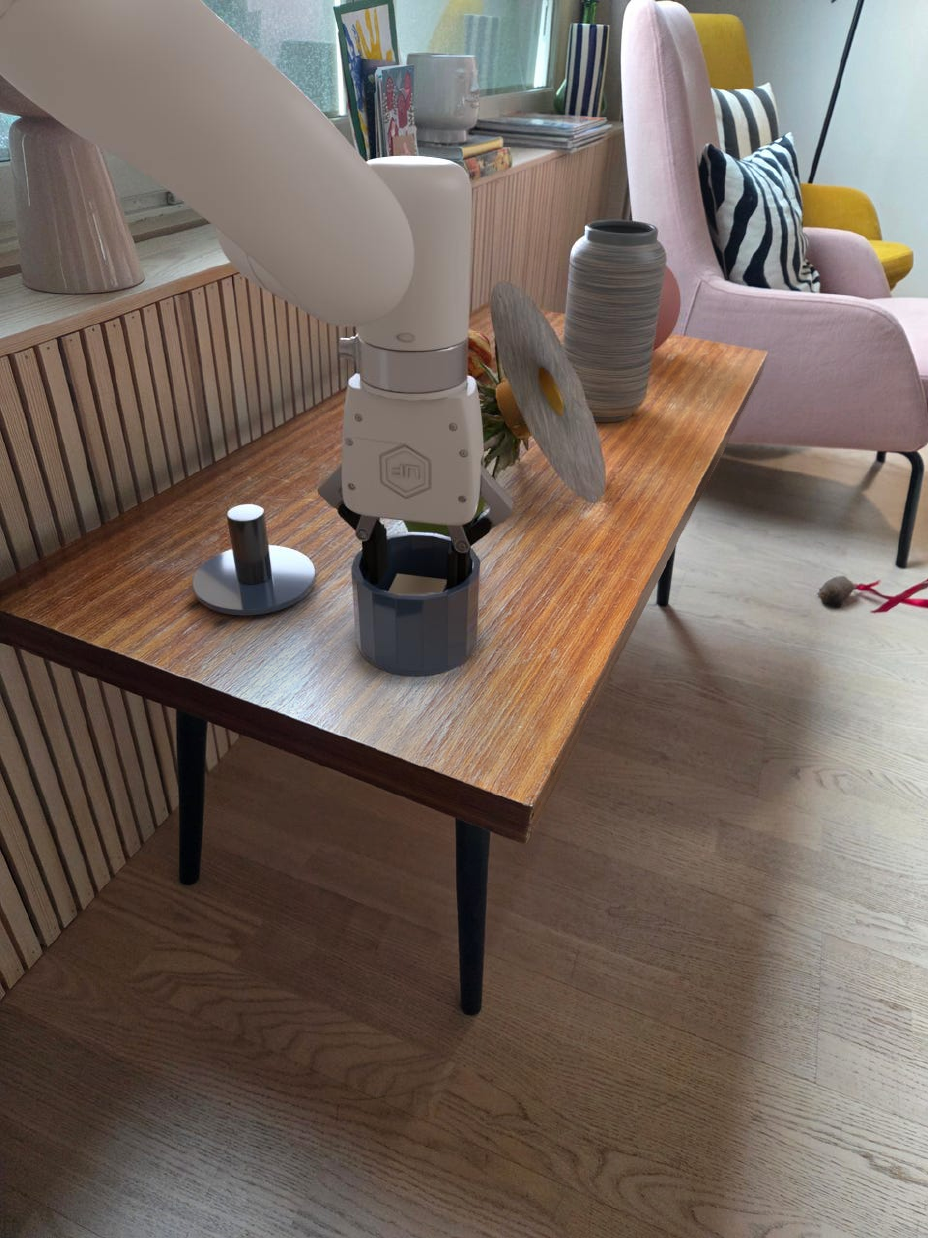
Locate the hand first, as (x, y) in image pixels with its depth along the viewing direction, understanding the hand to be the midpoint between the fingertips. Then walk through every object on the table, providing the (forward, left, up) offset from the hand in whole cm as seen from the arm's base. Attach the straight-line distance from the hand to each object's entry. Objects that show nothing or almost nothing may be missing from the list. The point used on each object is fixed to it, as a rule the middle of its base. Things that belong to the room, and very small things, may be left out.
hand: (416, 579), depth 69 cm
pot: (0, 0, -6) cm, 6 cm away
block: (0, 0, -6) cm, 6 cm away
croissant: (+24, +61, -6) cm, 66 cm away
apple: (+6, +12, -6) cm, 15 cm away
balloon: (+50, +59, -6) cm, 78 cm away
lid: (-12, +12, -5) cm, 18 cm away
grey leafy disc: (+20, +26, -6) cm, 33 cm away
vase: (+38, +42, -6) cm, 57 cm away
